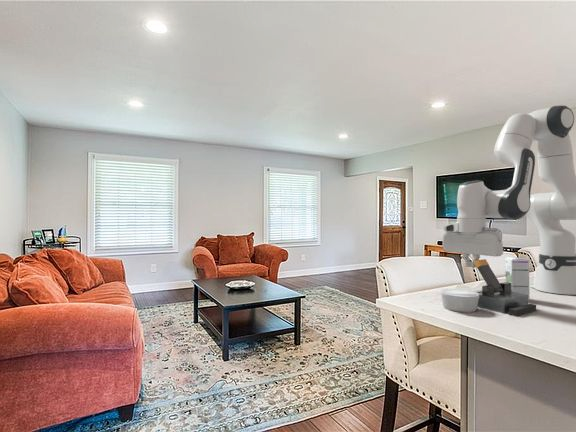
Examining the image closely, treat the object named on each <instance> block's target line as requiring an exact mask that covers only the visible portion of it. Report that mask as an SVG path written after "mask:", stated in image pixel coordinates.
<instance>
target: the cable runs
mask: <svg viewBox="0 0 576 432" xmlns="http://www.w3.org/2000/svg"><path fill="white" fill-rule="evenodd" d="M536 311H537V304H533V303H528V304H527V305H523V306H519V307H514V308H510V309H509V312H508V315H509V316H513V317H518V316H522V315H525V314H529V313H533V312H536Z"/></svg>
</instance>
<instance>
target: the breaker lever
mask: <svg viewBox="0 0 576 432" xmlns="http://www.w3.org/2000/svg"><path fill="white" fill-rule="evenodd" d="M473 263H474V264H475V266H476V267H475V269H476V268H477V270H478V271H479V273H480V276H481V277H482V278H483V281H484V282H485V283H486V285H493V286H494V293H498V292H502V291H503V288H502V286H501V284H500V283H501V282H500V281H499V280H498V278H497V276H496V275H495V273H494V271H493V269H492V268H491V267H490V264H489V262H488V261H487V259H486V258H485V259H479V260H477V261H475V262H473Z"/></svg>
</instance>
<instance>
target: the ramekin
mask: <svg viewBox="0 0 576 432" xmlns="http://www.w3.org/2000/svg"><path fill="white" fill-rule="evenodd" d="M474 291H475V290H469V289H461V288H445V289H441V290H440V292H439V293H440V295H441V301H442V306H443V308H444V309H446V310H449V311H453V312H457V313H474V312H475V311H477V309H478V307H477V305H478V299H479V297H480V295H479V293H477V292H474Z"/></svg>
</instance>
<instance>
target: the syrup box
mask: <svg viewBox="0 0 576 432" xmlns="http://www.w3.org/2000/svg"><path fill="white" fill-rule="evenodd" d="M505 282H508V283H511V292H514V293H520V294H526V295H528V302H529V301H530V292H531V291H530V259H527V258H524V257H516V256H514V257H509V256H508V257H505Z"/></svg>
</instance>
